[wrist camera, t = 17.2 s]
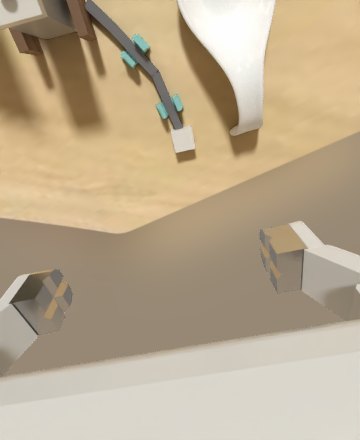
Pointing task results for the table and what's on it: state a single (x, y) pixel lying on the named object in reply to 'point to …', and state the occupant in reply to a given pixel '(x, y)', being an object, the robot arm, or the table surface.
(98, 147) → the table surface
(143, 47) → the clip
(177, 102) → the clip
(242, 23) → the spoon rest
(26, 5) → the grey block with knob
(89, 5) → the cable
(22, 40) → the holder
